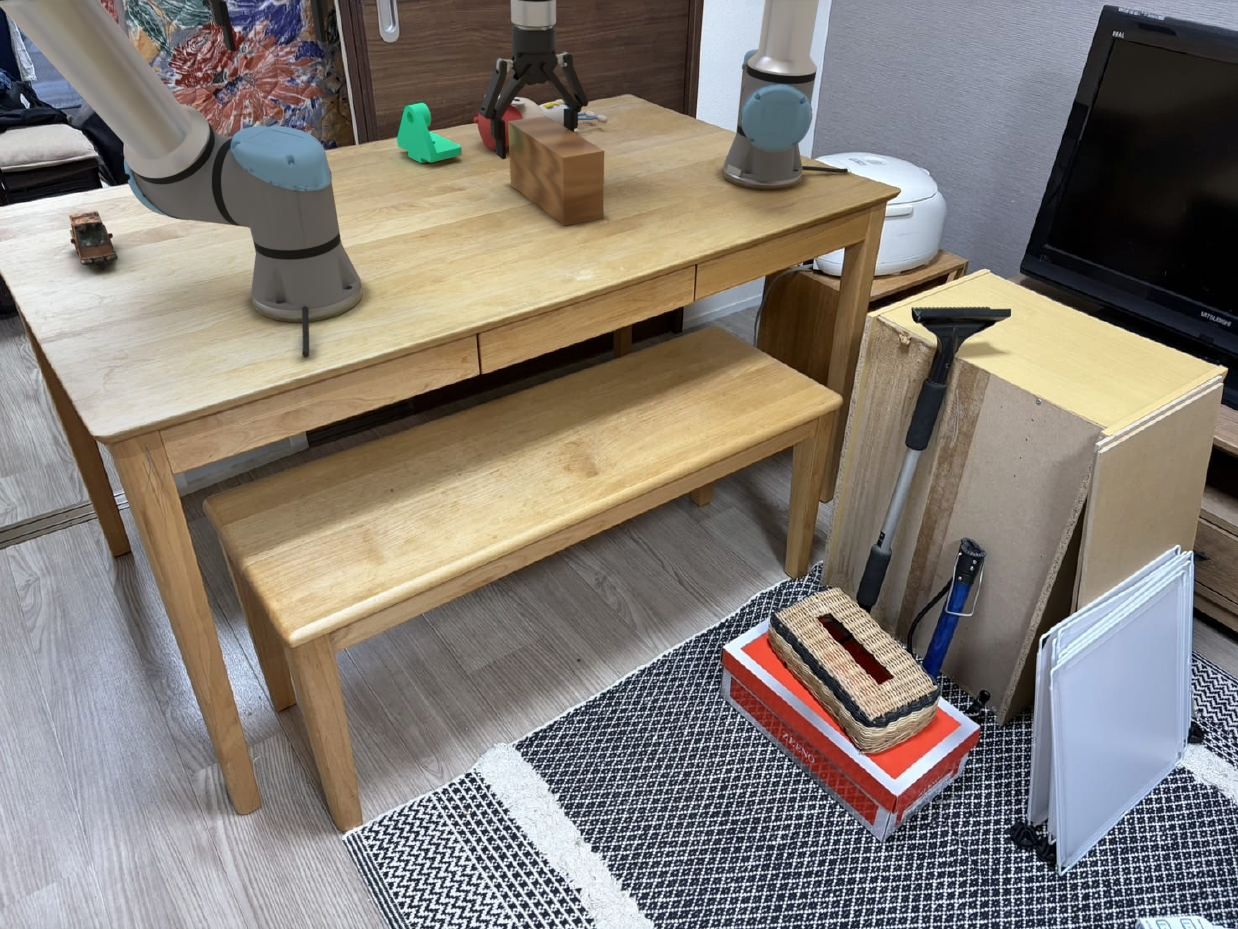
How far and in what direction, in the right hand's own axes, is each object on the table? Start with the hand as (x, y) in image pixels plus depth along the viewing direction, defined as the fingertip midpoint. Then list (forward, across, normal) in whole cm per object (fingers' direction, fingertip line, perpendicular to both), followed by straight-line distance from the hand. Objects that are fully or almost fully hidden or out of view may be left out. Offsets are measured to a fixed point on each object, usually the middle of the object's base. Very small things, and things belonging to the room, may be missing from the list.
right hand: (535, 151), depth 168 cm
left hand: (-21, +42, -2) cm, 47 cm away
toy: (+7, -14, -26) cm, 30 cm away
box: (+7, 0, +7) cm, 10 cm away
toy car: (+8, +74, -3) cm, 74 cm away
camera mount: (+7, +11, -25) cm, 28 cm away
